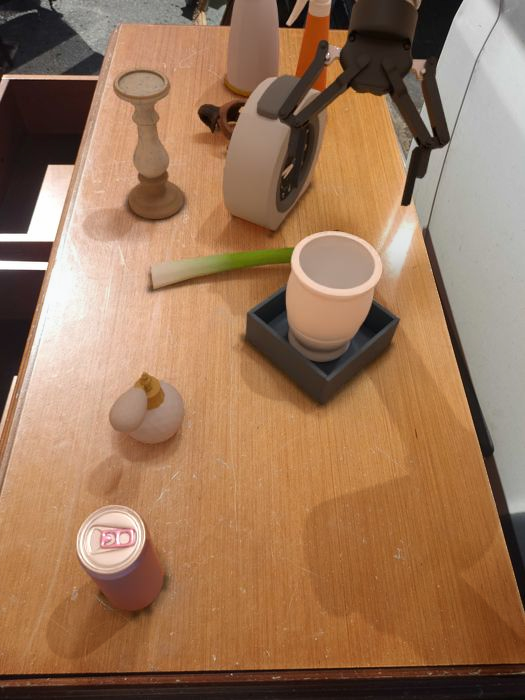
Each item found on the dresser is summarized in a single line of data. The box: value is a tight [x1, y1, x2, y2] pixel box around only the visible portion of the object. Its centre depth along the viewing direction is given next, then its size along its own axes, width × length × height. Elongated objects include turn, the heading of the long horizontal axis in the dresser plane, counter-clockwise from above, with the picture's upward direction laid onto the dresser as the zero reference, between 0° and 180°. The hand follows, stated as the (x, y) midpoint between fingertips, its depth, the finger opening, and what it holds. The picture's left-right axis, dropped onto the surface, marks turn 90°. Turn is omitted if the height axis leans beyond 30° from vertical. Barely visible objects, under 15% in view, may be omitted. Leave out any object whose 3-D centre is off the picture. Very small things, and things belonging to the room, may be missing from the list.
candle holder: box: [112, 67, 184, 220], centre depth 83 cm, size 9×9×20 cm
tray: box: [245, 282, 401, 405], centre depth 74 cm, size 14×14×6 cm
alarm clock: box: [221, 73, 328, 231], centre depth 85 cm, size 21×8×20 cm, turn 153°
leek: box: [149, 229, 341, 290], centre depth 82 cm, size 6×7×30 cm
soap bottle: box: [224, 0, 280, 98], centre depth 103 cm, size 11×12×26 cm
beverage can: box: [75, 504, 164, 612], centre depth 52 cm, size 6×6×15 cm
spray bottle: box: [285, 0, 332, 93], centre depth 96 cm, size 7×11×26 cm, turn 132°
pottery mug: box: [197, 98, 248, 151], centre depth 100 cm, size 12×10×8 cm
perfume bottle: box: [108, 371, 186, 445], centre depth 62 cm, size 8×10×12 cm
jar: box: [286, 230, 383, 362], centre depth 70 cm, size 11×10×15 cm
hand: (349, 196), depth 67 cm, fingers open, 13 cm apart
